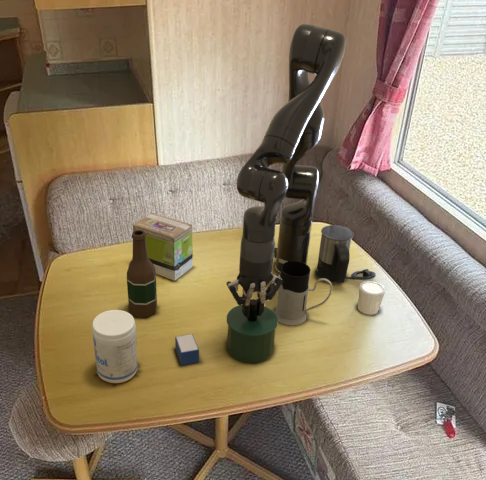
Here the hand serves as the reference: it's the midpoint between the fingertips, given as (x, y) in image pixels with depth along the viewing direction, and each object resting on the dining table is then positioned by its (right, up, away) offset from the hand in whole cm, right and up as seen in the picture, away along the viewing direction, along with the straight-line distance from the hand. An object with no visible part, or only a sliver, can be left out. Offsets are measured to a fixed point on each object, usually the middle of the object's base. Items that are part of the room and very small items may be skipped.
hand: (252, 314), depth 133 cm
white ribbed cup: (+33, 0, +20) cm, 39 cm away
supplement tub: (-32, -13, -2) cm, 35 cm away
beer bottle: (-28, 0, +18) cm, 33 cm away
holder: (+14, -2, +16) cm, 22 cm away
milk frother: (+30, +9, +33) cm, 46 cm away
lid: (0, -1, +1) cm, 2 cm away
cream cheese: (-16, -10, +3) cm, 19 cm away
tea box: (-24, +12, +36) cm, 45 cm away
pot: (0, -9, +6) cm, 10 cm away
